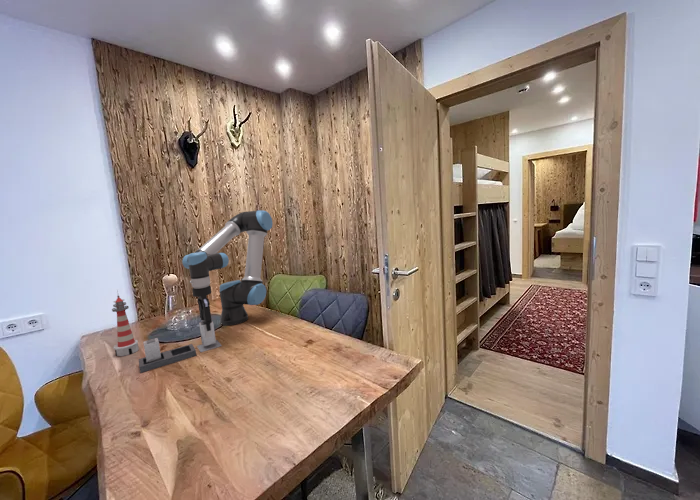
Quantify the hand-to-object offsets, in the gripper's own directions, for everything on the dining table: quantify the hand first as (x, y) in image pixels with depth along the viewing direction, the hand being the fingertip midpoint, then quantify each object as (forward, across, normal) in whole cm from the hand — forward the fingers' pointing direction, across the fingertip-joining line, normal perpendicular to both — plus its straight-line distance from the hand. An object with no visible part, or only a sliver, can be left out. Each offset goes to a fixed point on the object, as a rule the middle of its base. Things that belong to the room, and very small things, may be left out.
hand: (207, 335), depth 135 cm
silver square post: (+5, +2, -22) cm, 22 cm away
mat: (+6, 0, 0) cm, 6 cm away
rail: (+6, +2, -17) cm, 18 cm away
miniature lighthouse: (+6, -24, -31) cm, 39 cm away
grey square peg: (+4, 0, 0) cm, 4 cm away
